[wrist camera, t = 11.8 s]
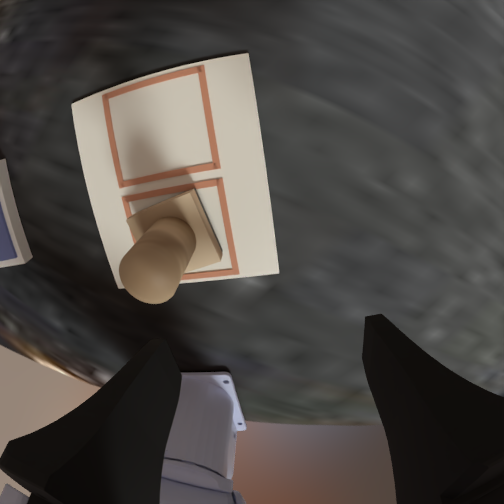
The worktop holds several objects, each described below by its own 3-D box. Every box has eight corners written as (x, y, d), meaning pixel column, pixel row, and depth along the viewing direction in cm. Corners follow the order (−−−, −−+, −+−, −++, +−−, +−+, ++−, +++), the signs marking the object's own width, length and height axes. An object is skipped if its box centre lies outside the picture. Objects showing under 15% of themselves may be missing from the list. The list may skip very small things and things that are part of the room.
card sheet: (279, 271, 20) (279, 273, 20) (120, 286, 21) (118, 289, 21) (248, 54, 14) (248, 52, 14) (73, 103, 16) (70, 104, 15)
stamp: (223, 250, 19) (208, 303, 14) (164, 270, 20) (134, 323, 15) (195, 186, 17) (166, 218, 12) (134, 212, 18) (90, 250, 13)
